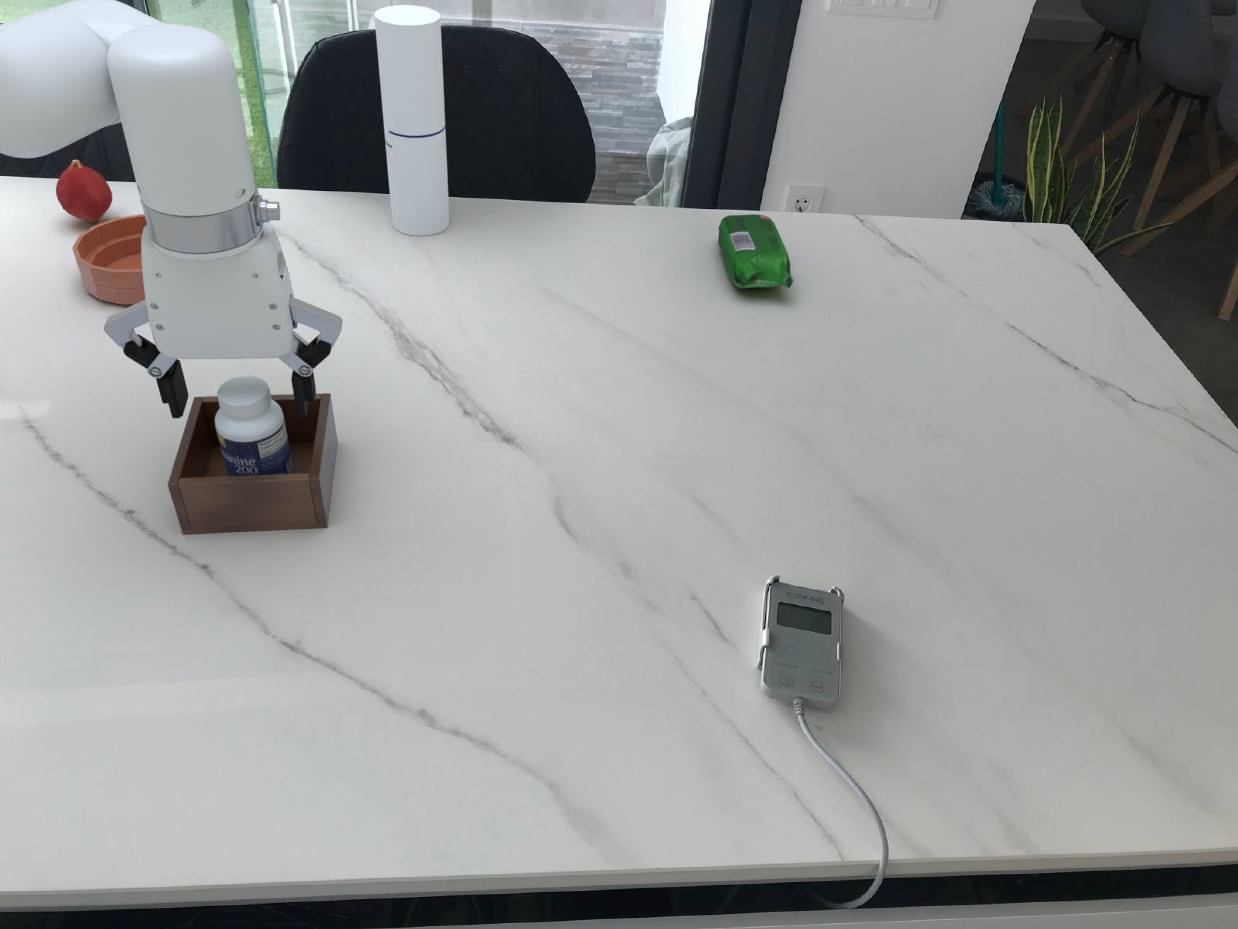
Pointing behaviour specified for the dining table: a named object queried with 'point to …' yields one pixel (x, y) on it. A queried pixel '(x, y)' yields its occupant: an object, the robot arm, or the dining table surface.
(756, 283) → the snack package
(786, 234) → the dining table surface
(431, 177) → the cylindrical container
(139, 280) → the bowl
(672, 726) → the dining table surface
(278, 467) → the pill bottle
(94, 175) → the onion
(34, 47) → the robot arm
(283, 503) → the holder
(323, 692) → the dining table surface
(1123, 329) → the dining table surface
